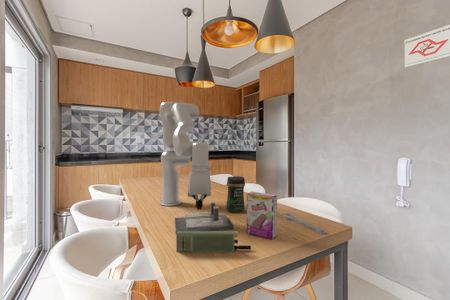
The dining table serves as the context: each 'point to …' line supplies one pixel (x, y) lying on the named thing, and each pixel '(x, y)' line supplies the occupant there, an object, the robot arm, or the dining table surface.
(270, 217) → the candy bar box
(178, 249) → the handheld radio
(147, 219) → the dining table surface
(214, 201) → the handle
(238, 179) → the coffee jar
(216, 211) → the handle
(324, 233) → the adjustable wrench
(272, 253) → the dining table surface
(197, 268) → the dining table surface
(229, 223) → the breaker panel
